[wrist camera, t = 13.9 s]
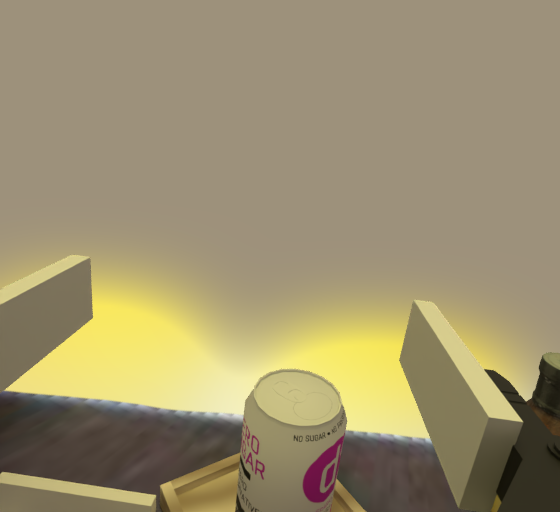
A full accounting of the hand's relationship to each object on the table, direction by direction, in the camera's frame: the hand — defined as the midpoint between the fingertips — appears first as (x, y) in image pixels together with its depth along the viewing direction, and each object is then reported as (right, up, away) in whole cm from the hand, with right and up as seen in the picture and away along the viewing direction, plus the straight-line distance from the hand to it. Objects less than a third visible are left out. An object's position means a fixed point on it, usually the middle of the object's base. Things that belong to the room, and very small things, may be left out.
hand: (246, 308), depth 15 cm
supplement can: (+1, -23, +19) cm, 30 cm away
